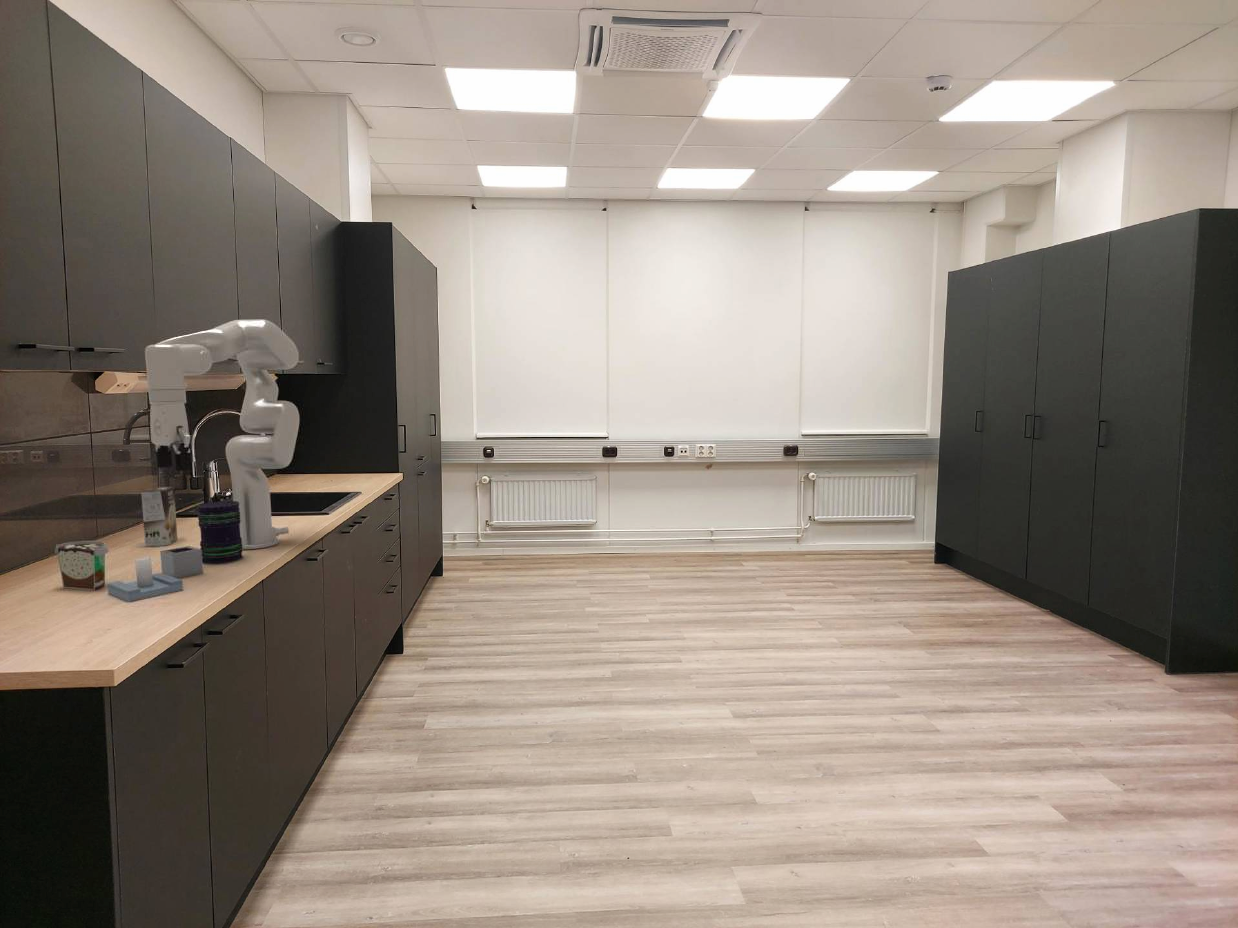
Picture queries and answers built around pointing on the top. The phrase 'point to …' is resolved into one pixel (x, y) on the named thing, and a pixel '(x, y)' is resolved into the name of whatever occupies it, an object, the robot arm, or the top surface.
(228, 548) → the dark blue barrel
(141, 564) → the shaft block
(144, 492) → the coffee box
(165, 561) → the grey hollow block
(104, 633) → the top surface
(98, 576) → the food container
